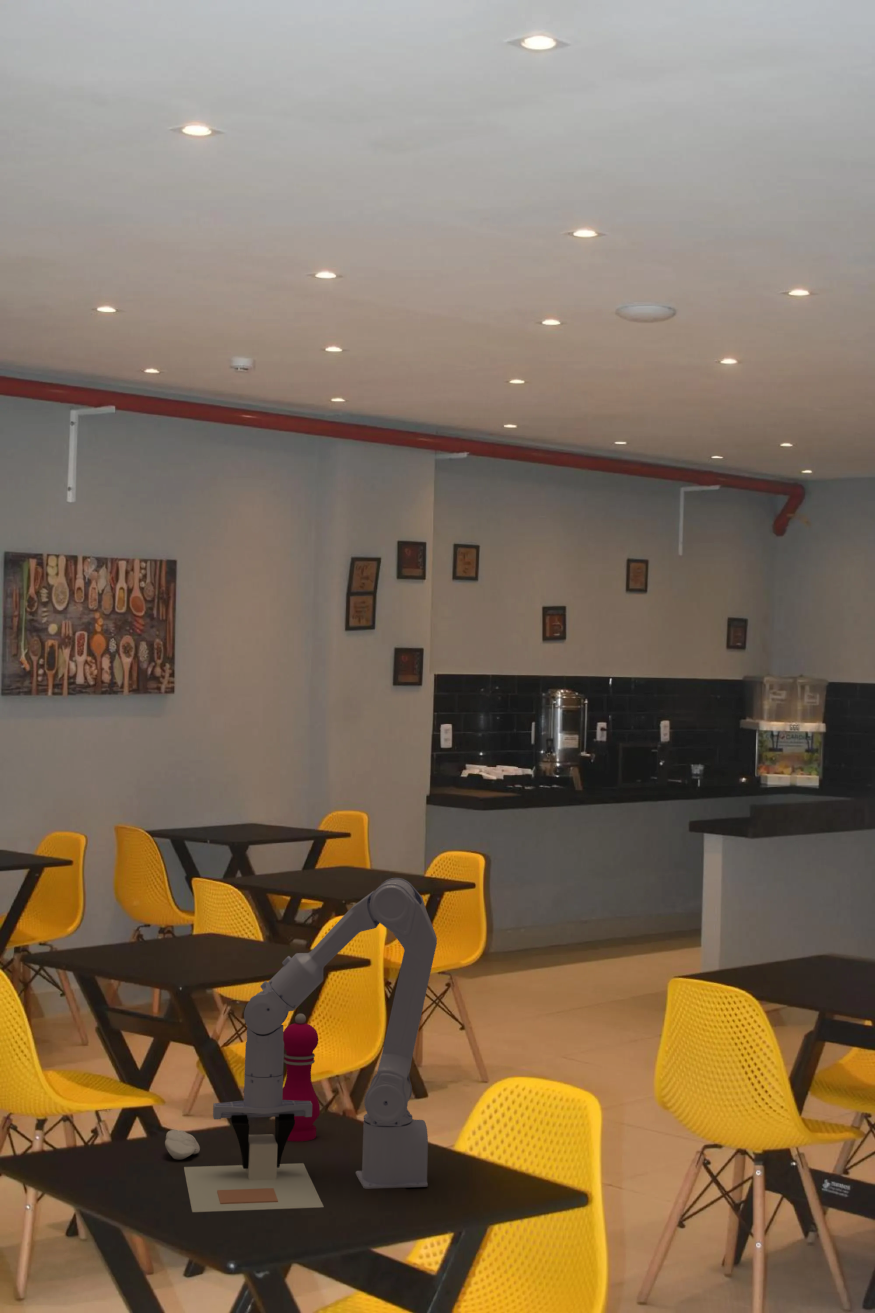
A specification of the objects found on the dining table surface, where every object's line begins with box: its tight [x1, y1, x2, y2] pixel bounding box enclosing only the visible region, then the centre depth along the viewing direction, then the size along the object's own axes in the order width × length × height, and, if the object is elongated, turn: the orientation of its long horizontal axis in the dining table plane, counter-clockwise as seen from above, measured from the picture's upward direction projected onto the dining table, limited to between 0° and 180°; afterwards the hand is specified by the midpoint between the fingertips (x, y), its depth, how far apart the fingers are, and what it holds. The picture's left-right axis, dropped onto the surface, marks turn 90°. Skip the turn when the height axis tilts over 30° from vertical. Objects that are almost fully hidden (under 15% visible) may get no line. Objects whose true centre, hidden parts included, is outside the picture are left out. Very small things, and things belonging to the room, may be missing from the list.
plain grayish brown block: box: [245, 1133, 278, 1180], centre depth 229 cm, size 4×6×5 cm, turn 12°
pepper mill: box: [282, 1013, 321, 1142], centre depth 251 cm, size 7×7×20 cm
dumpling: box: [164, 1129, 201, 1161], centre depth 237 cm, size 7×5×4 cm
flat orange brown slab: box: [217, 1188, 278, 1204], centre depth 217 cm, size 8×6×1 cm
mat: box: [183, 1162, 324, 1213], centre depth 222 cm, size 18×22×1 cm
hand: (260, 1166), depth 229 cm, fingers closed on plain grayish brown block, 4 cm apart
